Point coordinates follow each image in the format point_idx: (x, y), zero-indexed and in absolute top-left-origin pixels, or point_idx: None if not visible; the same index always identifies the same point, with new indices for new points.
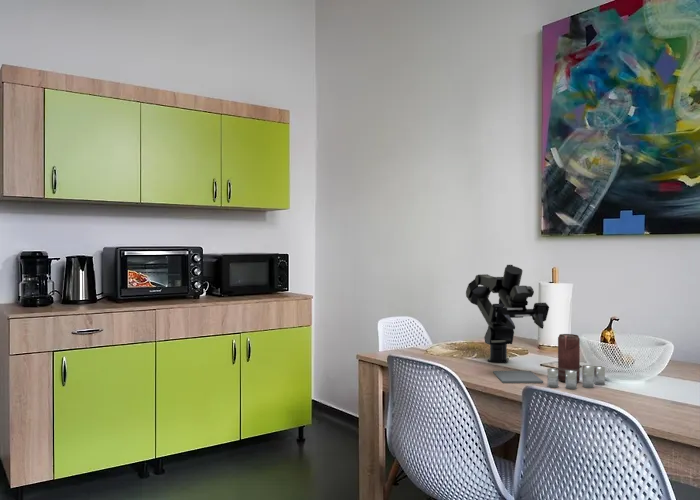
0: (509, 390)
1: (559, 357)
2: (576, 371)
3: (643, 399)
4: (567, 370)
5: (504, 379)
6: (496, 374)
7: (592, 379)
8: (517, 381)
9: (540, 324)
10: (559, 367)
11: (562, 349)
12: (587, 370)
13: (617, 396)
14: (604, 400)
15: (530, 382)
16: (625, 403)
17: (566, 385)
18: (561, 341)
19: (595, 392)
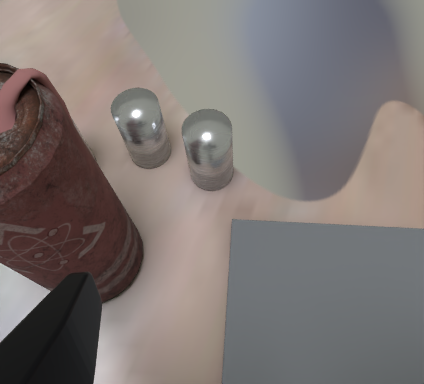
0: (402, 125)
1: (111, 200)
2: (117, 96)
3: (12, 38)
4: (149, 107)
5: (416, 260)
6: None
7: None
8: (353, 225)
9: (78, 338)
10: (127, 226)
11: (87, 148)
12: None
13: (61, 62)
14: (127, 30)
15: (290, 225)
16: (88, 10)
17: (168, 141)
18: (67, 120)
19: (99, 99)
